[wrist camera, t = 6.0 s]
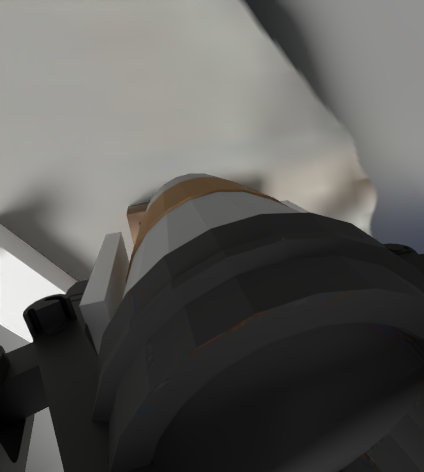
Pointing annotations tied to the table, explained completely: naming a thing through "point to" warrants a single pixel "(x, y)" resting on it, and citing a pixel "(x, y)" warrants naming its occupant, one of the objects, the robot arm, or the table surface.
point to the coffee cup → (261, 341)
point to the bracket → (25, 281)
